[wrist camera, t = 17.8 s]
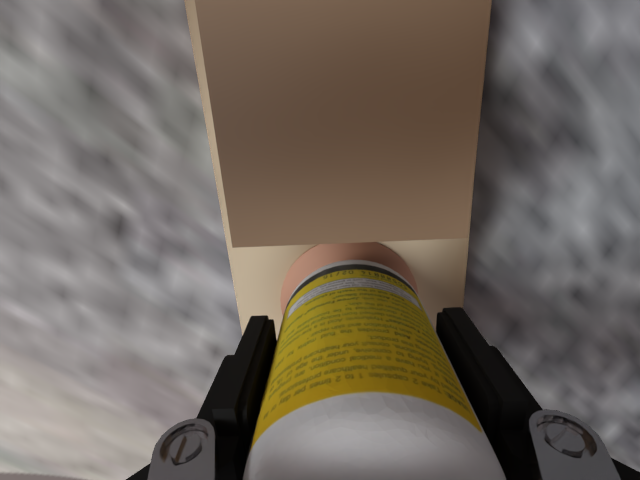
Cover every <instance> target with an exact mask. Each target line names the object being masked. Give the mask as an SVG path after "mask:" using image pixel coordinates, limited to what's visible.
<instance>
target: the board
mask: <svg viewBox="0 0 640 480" xmlns="http://www.w3.org/2000/svg"><path fill="white" fill-rule="evenodd" d="M184 1H185V7H186V12H187V18H188V24H189V30H190V35H191V41H192V47H193V53H194V59H195V64H196V70H197V76H198V82H199V87H200V93H201V99H202V105H203V110H204V116H205V122H206V128H207V134H208V139H209V145H210V151H211V157H212V162H213V168H214V174H215V180H216V186H217V191H218V197H219V203H220V209H221V214H222V220H223V226H224V232H225V237H226V243H227V249H228V255H229V261H230V266H231V272H232V278H233V284H234V289H235V295H236V301H237V307H238V312H239V318H240V324H241V330H242V336H243V333H244V331H245V329H246V326H247V324H248V322H249V319H250V317H251V316H261V315H267V316H268V318H269V319H273V320H274V324H275V331H276V339H278V335H279V331H280V327H281V323H282V319H283V315H284V312H285V309H286V306H287V303H288V301H289V299H290V296H291V295H292V293H293V291H294V290H295V289H296V287H297V286H298V285H299V284H300V283H301V281H302V280H303V279H305V278H306V277H307V276H308V275H310V274H311V273H312V272H314V271H316V270H317V269H319V268H321V267H323V266H325V265H328V264H331V263H334V262H338V261H344V260H366V261H371V262H376V263H379V264H382V265H384V266H386V267H389V268H390V269H392V270H394V271H396V272H397V273H399V274H400V275H401V276H402V277H404V278H405V279H406V280H407V281H408V282H409V284H410V285H411V286H412V287H413V288H414V290H415V291H416V293H417V294H418V296H419V298H420V300H421V302H422V304H423V306H424V308H425V310H426V312H427V314H428V316H429V318H430V321H431V323H432V325H433V327H434V329H435V331H436V320H437V313H438V312H442V310H443V308H450V307H461V308H462V309H463V302H464V290H465V279H466V267H467V255H468V244H469V233H468V238H460V239H435V240H411V241H386V242H361V243H337V244H312V245H287V246H263V247H238V248H232V242H231V235H230V229H229V222H228V216H227V209H226V202H225V196H224V189H223V183H222V176H221V170H220V163H219V157H218V150H217V143H216V137H215V130H214V124H213V117H212V111H211V104H210V98H209V91H208V85H207V78H206V71H205V65H204V58H203V52H202V45H201V39H200V32H199V26H198V19H197V12H196V6H195V0H184ZM474 174H475V173H474ZM473 185H474V183H473ZM472 197H473V193H472ZM471 209H472V203H471ZM470 220H471V213H470ZM469 232H470V223H469Z"/></svg>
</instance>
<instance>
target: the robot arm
mask: <svg viewBox="0 0 640 480" xmlns="http://www.w3.org/2000/svg"><path fill="white" fill-rule="evenodd" d="M436 333H437V335H438V337H439V339H440V341H441V343H442V345H443V348H444V350H445V352H446V354H447V356H448V358H449V360H450V362H451V364H452V366H453V368H454V370H455V373H456V375H457V377H458V379H459V381H460V383H461V385H462V387H463V389H464V391H465V393H466V396H467V398H468V400H469V402H470V404H471V406H472V408H473V410H474V412H475V414H476V416H477V418H478V420H479V422H480V424H481V426H482V428H483V430H484V432H485V434H486V436H487V438H488V440H489V442H490V444H491V446H492V448H493V451H494V453H495V455H496V457H497V459H498V461H499V463H500V465H501V468H502V470H503V472H504V474H505V477H506V480H640V472H638V471H636V470H634V469H632V468H630V467H628V466H626V465H624V464H622V463H620V462H618V461H616V460H614V459H612V458H611V457H610V455H609V453H608V451H607V449H606V447H605V444H604V443H603V441H602V440H601V438H600V437H599V435H598V434H597V433H596V432H595V431H594V430H593V429H592V428H591V427H590V426H588V425H587V424H585V423H584V422H582V421H581V420H579V419H578V418H575V417H573V416H571V415H569V414H567V413H563V412H560V411H557V410H547V409H546V410H542V408H541V407H540V406H539V404H538V403H537V402H536V400H535V399H534V397H533V396H532V395H531V393H530V392H529V391H528V389H527V388H526V387H525V385H524V384H523V383H522V381H521V380H520V379H519V377H518V376H517V375H516V373H515V372H514V371H513V369H512V368H511V366H510V365H509V364H508V362H507V361H506V360H505V358H504V357H503V356H502V354H501V353H500V352H499V350H498V349H497V348H496V347H494V346H489V345H488V343H487V342H486V341H485V339H484V338H483V336H482V335H481V334H480V332H479V331H478V329H477V328H476V327H475V325H474V324H473V322H472V321H471V320H470V318H469V317H468V315H467V314H466V313H465V311H464V310H463V309H462V308H461V307H450V308H443V310H442V312H438V313H437V320H436ZM276 343H277V339H276V331H275V324H274V320H273V319H269V318H268V316H267V315H261V316H251V317H250V319H249V322H248V324H247V326H246V329H245V331H244V333H243V336H242V338H241V341H240V343H239V345H238V348H237V350H236V352H235V355H227V356H225V358H224V360H223V362H222V364H221V366H220V368H219V370H218V372H217V375H216V377H215V379H214V381H213V383H212V386H211V388H210V390H209V392H208V394H207V396H206V399H205V401H204V403H203V405H202V407H201V409H200V412H199V414H198V416H197V418H195V419H189V420H185V421H183V422H180V423H178V424H176V425H174V426H173V427H171V428H170V429H169V430H167V431H166V432H165V433H164V434H163V435H162V436H161V438H160V439H159V440H158V442H157V443H156V445H155V448H154V451H153V454H152V459H151V463H150V464H149V465H147V466H146V467H144V468H143V469H141V470H140V471H138V472H137V473H135V474H134V475H132V476H131V477H129V478H128V479H126V480H243V476H244V471H245V466H246V461H247V455H248V451H249V446H250V442H251V438H252V435H253V433H254V429H255V425H256V420H257V417H258V413H259V410H260V405H261V401H262V398H263V394H264V390H265V386H266V382H267V378H268V374H269V370H270V366H271V363H272V359H273V354H274V350H275V346H276Z"/></svg>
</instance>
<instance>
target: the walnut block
mask: <svg viewBox="0 0 640 480" xmlns="http://www.w3.org/2000/svg"><path fill="white" fill-rule="evenodd" d="M491 3H492V0H195V6H196V12H197V19H198V26H199V32H200V39H201V45H202V52H203V58H204V65H205V71H206V78H207V85H208V91H209V98H210V104H211V111H212V117H213V124H214V130H215V137H216V143H217V150H218V157H219V163H220V170H221V176H222V183H223V189H224V196H225V202H226V209H227V216H228V222H229V229H230V235H231V242H232V248H238V247H263V246H287V245H312V244H337V243H361V242H386V241H411V240H435V239H460V238H468V233H469V223H470V213H471V203H472V193H473V183H474V173H475V163H476V153H477V143H478V133H479V123H480V113H481V103H482V93H483V83H484V73H485V63H486V53H487V43H488V33H489V23H490V13H491Z"/></svg>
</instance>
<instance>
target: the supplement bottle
mask: <svg viewBox="0 0 640 480" xmlns="http://www.w3.org/2000/svg"><path fill="white" fill-rule="evenodd" d="M243 480H506V477H505V474H504V472H503V470H502V468H501V465H500V463H499V461H498V459H497V457H496V455H495V453H494V451H493V448H492V446H491V444H490V442H489V440H488V438H487V436H486V434H485V432H484V430H483V428H482V426H481V424H480V422H479V420H478V418H477V416H476V414H475V412H474V410H473V408H472V406H471V404H470V402H469V400H468V398H467V396H466V393H465V391H464V389H463V387H462V385H461V383H460V381H459V379H458V377H457V375H456V373H455V370H454V368H453V366H452V364H451V362H450V360H449V358H448V356H447V354H446V352H445V350H444V348H443V345H442V343H441V341H440V339H439V337H438V335H437V333H436V331H435V329H434V327H433V325H432V323H431V321H430V318H429V316H428V314H427V312H426V310H425V308H424V306H423V304H422V302H421V300H420V298H419V296H418V294H417V293H416V291H415V290H414V288H413V287H412V286H411V285H410V284H409V282H408V281H407V280H406V279H405V278H404V277H402V276H401V275H400V274H399V273H397V272H396V271H394V270H392V269H390V268H389V267H386V266H384V265H382V264H379V263H376V262H371V261H366V260H344V261H338V262H334V263H331V264H328V265H325V266H323V267H321V268H319V269H317V270H316V271H314V272H312V273H311V274H310V275H308V276H307V277H306V278H305V279H303V280H302V281H301V283H300V284H299V285H298V286H297V287H296V289H295V290H294V291H293V293H292V295H291V296H290V299H289V301H288V303H287V306H286V309H285V312H284V315H283V319H282V323H281V327H280V331H279V335H278V339H277V343H276V346H275V350H274V354H273V359H272V363H271V366H270V370H269V374H268V378H267V382H266V386H265V390H264V394H263V398H262V401H261V405H260V410H259V413H258V417H257V420H256V425H255V429H254V433H253V435H252V438H251V442H250V446H249V451H248V455H247V461H246V466H245V471H244V476H243Z"/></svg>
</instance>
